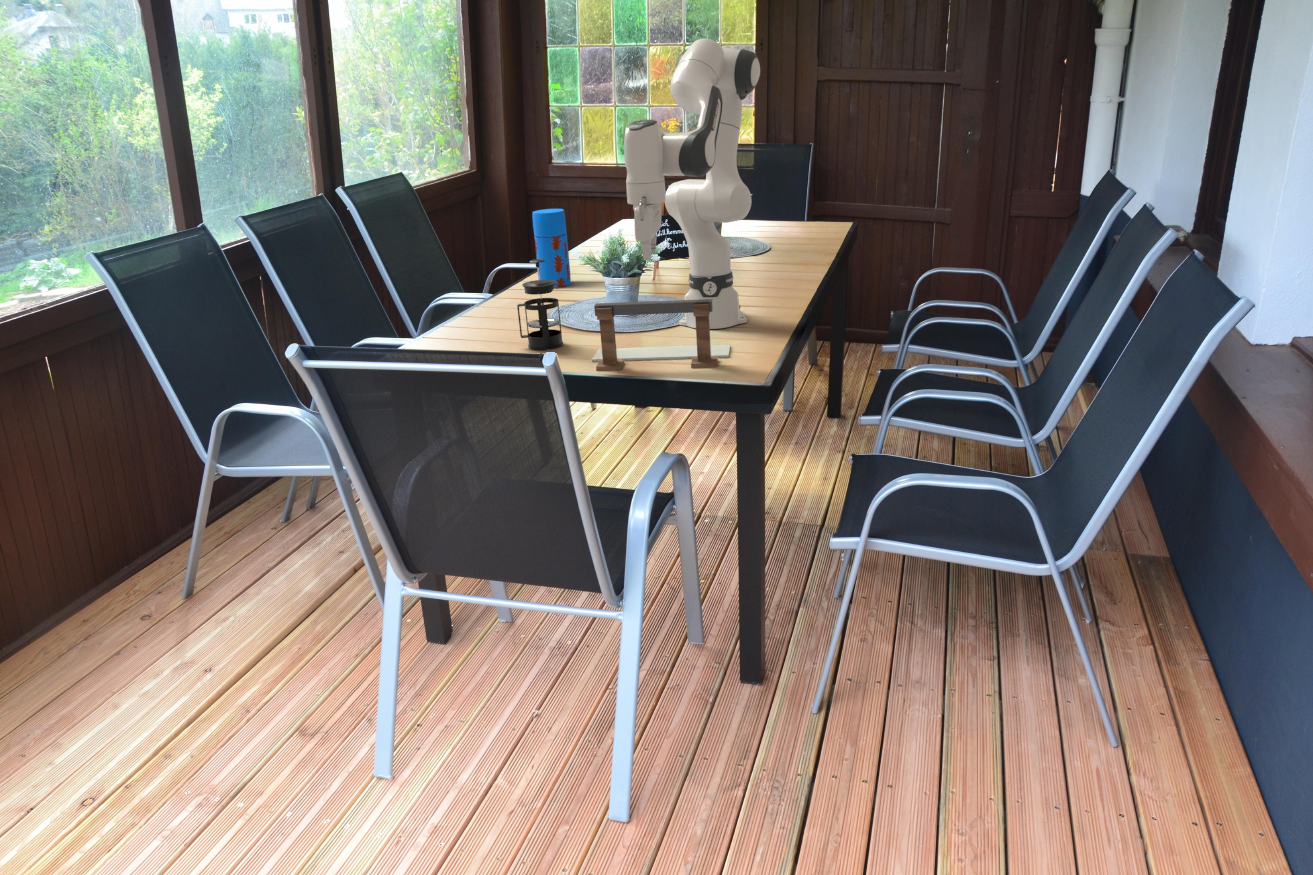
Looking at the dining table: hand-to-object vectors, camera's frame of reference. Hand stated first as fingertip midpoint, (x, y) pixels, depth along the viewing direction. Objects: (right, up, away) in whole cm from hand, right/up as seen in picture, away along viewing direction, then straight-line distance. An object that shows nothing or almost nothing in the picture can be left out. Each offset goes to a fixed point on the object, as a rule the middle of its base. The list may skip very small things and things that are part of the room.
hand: (649, 255), depth 238 cm
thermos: (-33, +10, +111) cm, 116 cm away
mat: (+3, -22, +18) cm, 29 cm away
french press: (-28, -18, +34) cm, 48 cm away
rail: (+1, -13, +5) cm, 14 cm away
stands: (+2, -25, +9) cm, 27 cm away
